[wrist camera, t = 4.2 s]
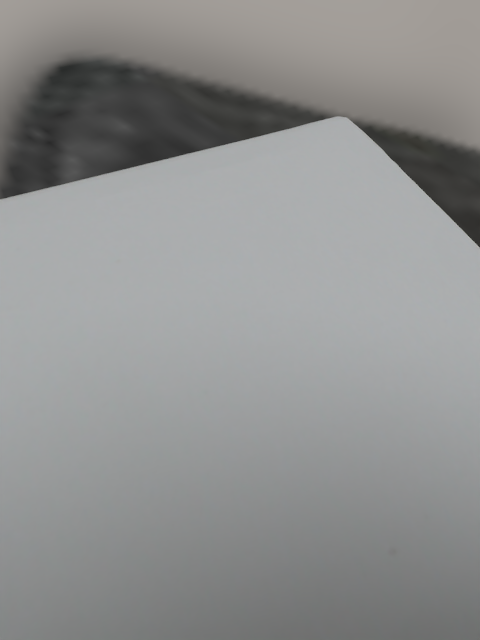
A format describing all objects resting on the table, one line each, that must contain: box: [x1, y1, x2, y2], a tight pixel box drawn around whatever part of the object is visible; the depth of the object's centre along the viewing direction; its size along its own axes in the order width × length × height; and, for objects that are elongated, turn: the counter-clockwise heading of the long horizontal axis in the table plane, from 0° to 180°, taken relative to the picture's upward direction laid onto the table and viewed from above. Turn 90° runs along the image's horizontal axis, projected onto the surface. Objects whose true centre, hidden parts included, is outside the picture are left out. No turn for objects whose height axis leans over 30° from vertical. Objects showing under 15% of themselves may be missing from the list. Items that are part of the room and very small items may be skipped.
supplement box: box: [0, 116, 480, 640], centre depth 9 cm, size 7×7×13 cm
